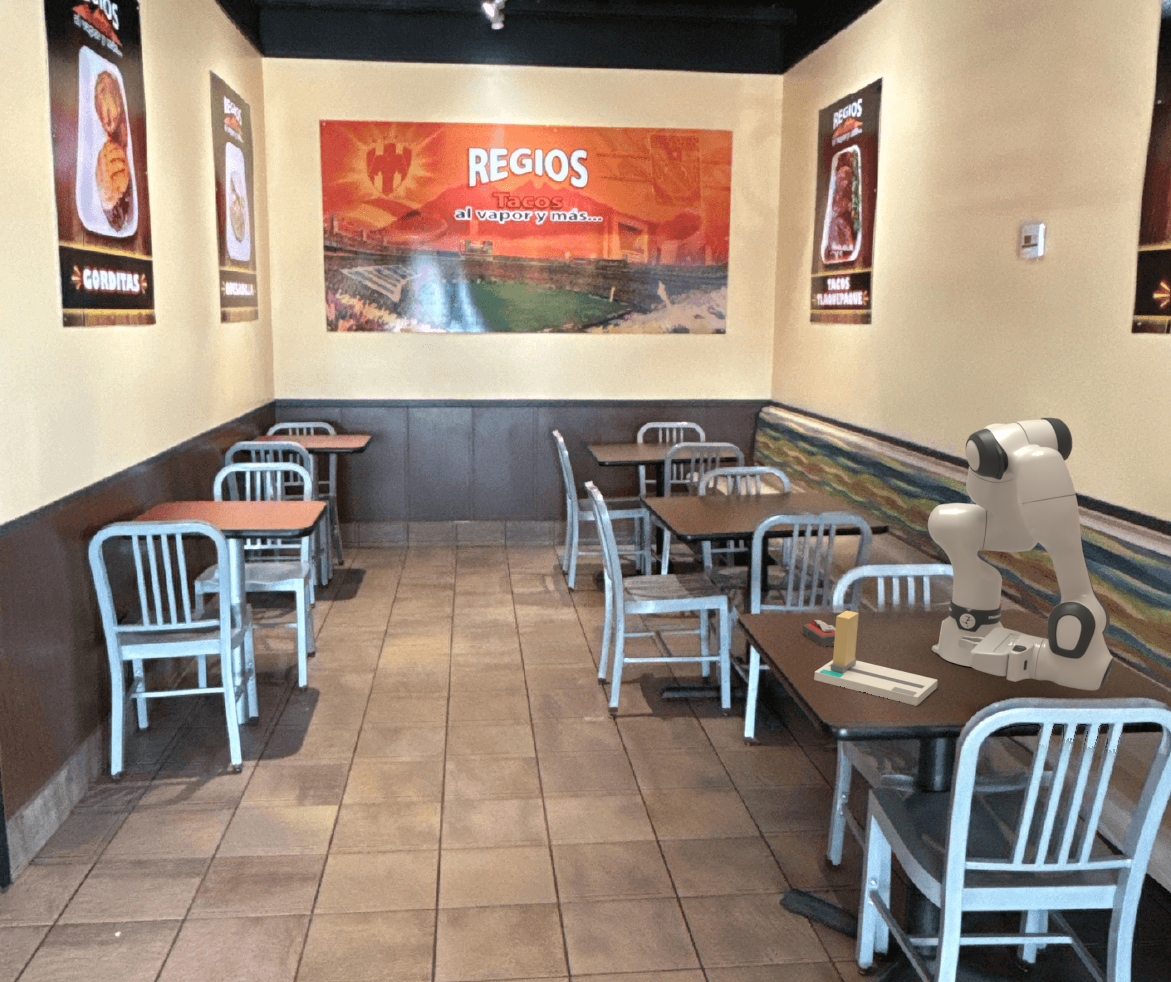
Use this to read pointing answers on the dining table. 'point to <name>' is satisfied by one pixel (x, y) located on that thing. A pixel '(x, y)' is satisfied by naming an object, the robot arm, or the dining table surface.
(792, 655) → the dining table surface
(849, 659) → the slider tab
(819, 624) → the red toggle switch
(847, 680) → the switch track
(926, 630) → the dining table surface
